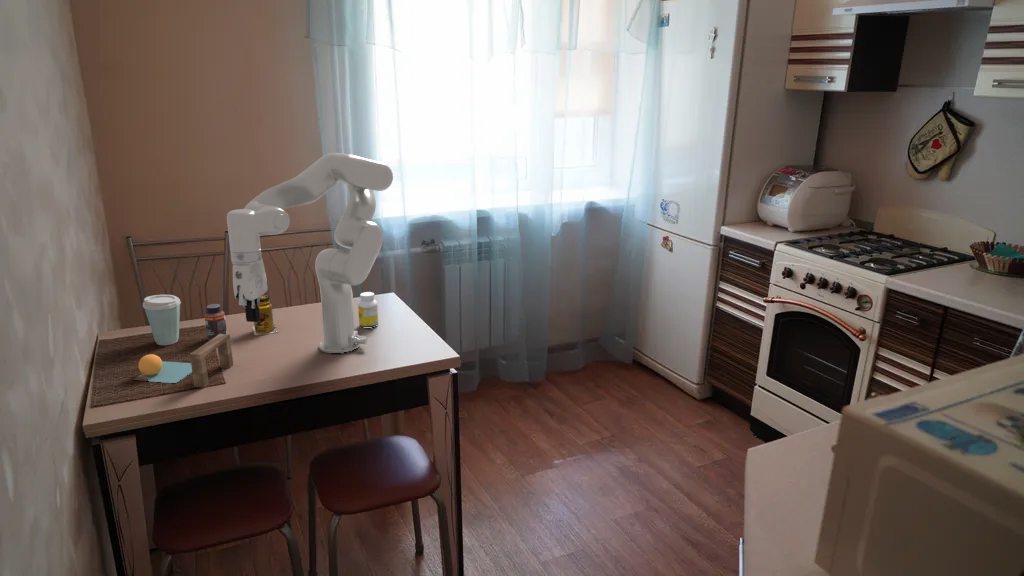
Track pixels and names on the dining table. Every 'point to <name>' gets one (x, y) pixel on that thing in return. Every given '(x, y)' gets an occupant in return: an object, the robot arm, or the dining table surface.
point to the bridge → (199, 355)
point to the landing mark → (171, 372)
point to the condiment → (264, 317)
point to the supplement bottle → (215, 321)
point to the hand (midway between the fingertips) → (253, 320)
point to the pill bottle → (368, 310)
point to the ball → (150, 364)
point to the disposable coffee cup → (163, 317)
